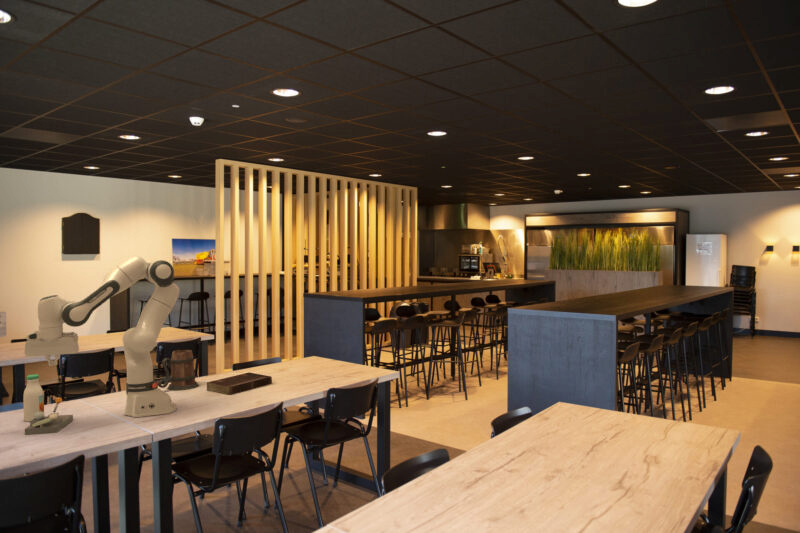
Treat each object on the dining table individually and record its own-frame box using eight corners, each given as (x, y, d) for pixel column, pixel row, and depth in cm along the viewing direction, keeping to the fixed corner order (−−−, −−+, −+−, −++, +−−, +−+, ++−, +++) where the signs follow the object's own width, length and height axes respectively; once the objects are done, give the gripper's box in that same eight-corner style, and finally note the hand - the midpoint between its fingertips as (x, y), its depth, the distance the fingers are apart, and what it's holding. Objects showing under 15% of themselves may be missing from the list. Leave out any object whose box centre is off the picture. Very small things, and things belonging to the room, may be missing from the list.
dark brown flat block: (229, 396, 292) (229, 386, 292) (206, 391, 303) (206, 382, 303) (271, 384, 316) (271, 375, 316) (249, 380, 327) (249, 372, 327)
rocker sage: (52, 419, 238) (51, 417, 238) (49, 421, 234) (48, 419, 234) (36, 424, 236) (35, 422, 236) (32, 427, 233) (32, 424, 233)
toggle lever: (58, 412, 248) (64, 397, 248) (56, 413, 245) (61, 399, 246) (52, 410, 247) (58, 395, 248) (49, 412, 245) (55, 397, 245)
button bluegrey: (45, 417, 241) (44, 411, 241) (41, 419, 238) (41, 413, 238) (36, 417, 241) (36, 411, 240) (33, 419, 237) (33, 413, 237)
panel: (73, 420, 252) (72, 410, 252) (56, 432, 235) (56, 421, 235) (43, 422, 250) (43, 412, 250) (24, 434, 232) (24, 423, 232)
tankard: (186, 382, 325) (185, 347, 324) (205, 385, 316) (204, 349, 315) (149, 391, 305) (148, 354, 304) (169, 394, 296) (168, 356, 295)
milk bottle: (34, 422, 250) (32, 377, 250) (19, 421, 252) (18, 376, 251) (48, 417, 258) (47, 373, 257) (34, 416, 259) (32, 373, 259)
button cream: (59, 419, 242) (59, 413, 242) (56, 421, 239) (56, 415, 239) (51, 419, 242) (50, 413, 242) (47, 421, 238) (47, 415, 238)
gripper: (80, 330, 249) (82, 361, 250) (28, 333, 245) (30, 365, 245) (75, 332, 243) (77, 364, 243) (21, 336, 239) (23, 368, 239)
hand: (53, 365), depth 244 cm, fingers closed
